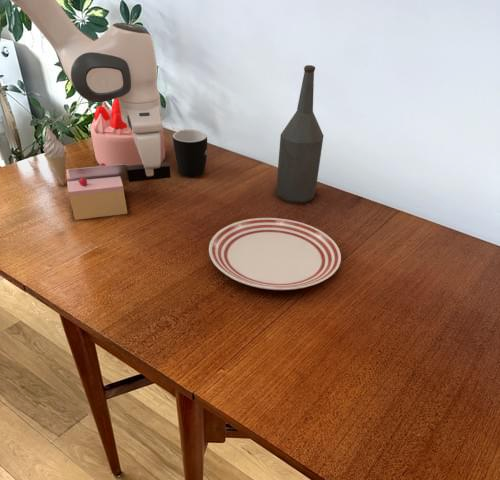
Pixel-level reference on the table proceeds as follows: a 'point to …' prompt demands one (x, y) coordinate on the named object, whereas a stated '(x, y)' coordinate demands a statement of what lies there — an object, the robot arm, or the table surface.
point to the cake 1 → (96, 197)
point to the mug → (190, 152)
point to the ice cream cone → (55, 154)
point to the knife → (120, 172)
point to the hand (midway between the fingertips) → (148, 171)
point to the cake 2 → (115, 138)
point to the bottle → (300, 148)
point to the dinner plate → (274, 253)
